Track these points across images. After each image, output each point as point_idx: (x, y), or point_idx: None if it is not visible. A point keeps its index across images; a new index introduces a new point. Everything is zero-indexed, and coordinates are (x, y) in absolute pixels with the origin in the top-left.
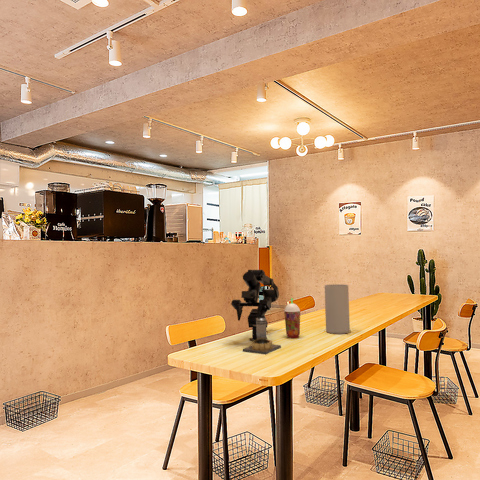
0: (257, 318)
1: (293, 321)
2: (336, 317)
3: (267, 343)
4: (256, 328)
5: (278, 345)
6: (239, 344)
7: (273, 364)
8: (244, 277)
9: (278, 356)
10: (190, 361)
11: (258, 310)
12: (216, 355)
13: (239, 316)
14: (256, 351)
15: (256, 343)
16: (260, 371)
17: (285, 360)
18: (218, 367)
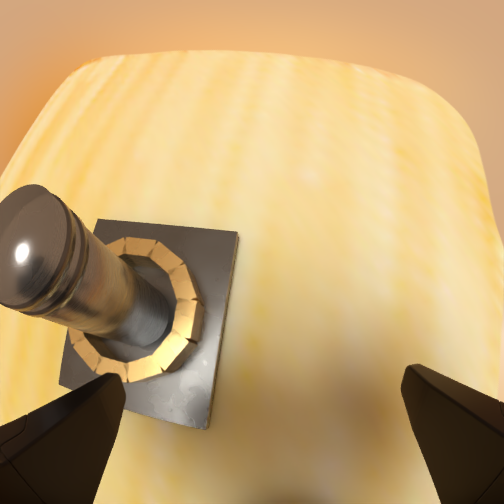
0: (42, 219)
1: None
2: None
3: None
4: (110, 258)
5: (67, 376)
6: (342, 394)
7: (72, 127)
8: None
9: None
10: (353, 68)
11: (5, 447)
12: (324, 135)
13: (431, 408)
14: (147, 224)
15: (142, 243)
16: (105, 74)
17: (37, 178)
18: (229, 51)
